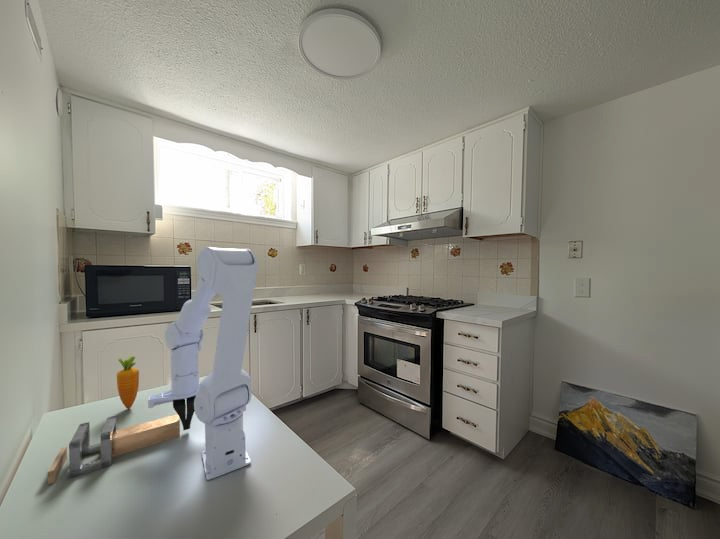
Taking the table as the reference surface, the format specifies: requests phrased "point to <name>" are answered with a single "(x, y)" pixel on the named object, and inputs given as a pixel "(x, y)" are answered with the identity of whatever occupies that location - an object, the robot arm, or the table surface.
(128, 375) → the carrot
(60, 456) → the bar
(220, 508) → the table surface
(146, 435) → the pine wood beam
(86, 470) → the gray metal beam bracket
